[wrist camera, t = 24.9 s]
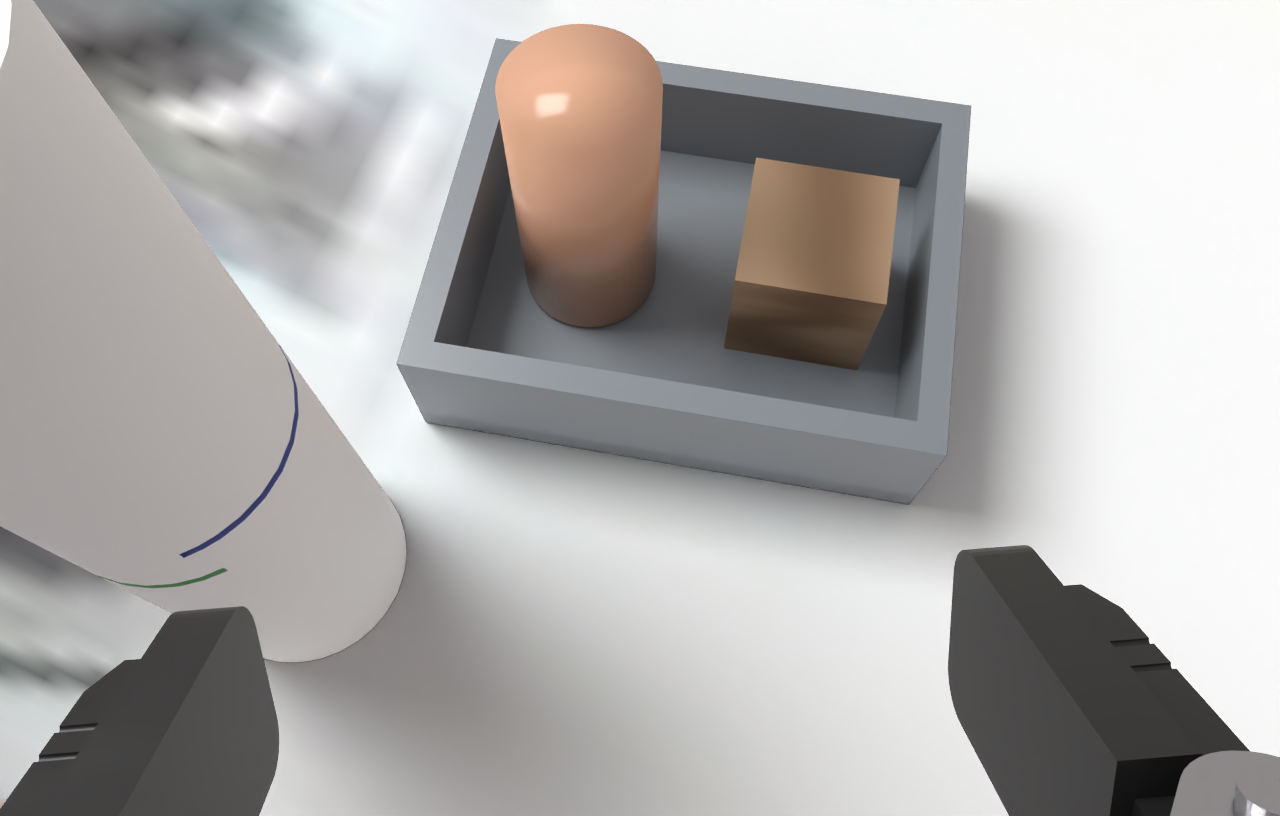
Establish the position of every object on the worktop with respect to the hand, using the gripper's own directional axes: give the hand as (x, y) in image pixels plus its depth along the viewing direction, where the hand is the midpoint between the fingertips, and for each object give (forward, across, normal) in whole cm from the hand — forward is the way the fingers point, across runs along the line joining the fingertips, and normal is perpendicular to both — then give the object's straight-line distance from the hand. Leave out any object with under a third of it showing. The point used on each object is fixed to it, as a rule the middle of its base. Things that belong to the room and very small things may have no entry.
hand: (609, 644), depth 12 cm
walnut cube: (+28, -8, +4) cm, 29 cm away
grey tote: (+29, -4, +4) cm, 30 cm away
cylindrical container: (+23, +11, +11) cm, 28 cm away
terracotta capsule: (+29, 0, +3) cm, 29 cm away
